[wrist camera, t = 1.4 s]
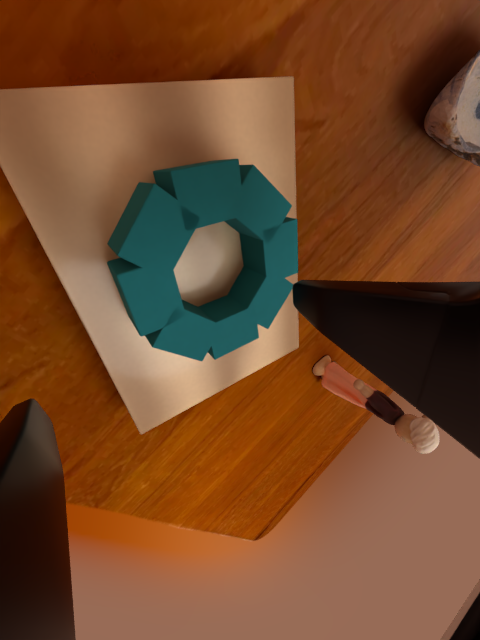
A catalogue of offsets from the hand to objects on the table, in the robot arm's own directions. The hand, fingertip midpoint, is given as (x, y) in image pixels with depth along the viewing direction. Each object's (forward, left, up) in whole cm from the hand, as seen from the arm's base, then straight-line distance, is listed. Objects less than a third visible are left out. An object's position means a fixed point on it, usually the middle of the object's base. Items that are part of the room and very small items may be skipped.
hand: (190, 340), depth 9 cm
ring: (+4, 0, -7) cm, 8 cm away
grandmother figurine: (+18, -19, -10) cm, 28 cm away
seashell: (+33, +4, -10) cm, 34 cm away
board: (+4, -1, -10) cm, 11 cm away
